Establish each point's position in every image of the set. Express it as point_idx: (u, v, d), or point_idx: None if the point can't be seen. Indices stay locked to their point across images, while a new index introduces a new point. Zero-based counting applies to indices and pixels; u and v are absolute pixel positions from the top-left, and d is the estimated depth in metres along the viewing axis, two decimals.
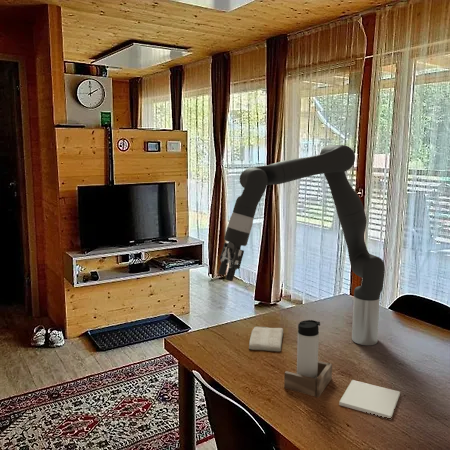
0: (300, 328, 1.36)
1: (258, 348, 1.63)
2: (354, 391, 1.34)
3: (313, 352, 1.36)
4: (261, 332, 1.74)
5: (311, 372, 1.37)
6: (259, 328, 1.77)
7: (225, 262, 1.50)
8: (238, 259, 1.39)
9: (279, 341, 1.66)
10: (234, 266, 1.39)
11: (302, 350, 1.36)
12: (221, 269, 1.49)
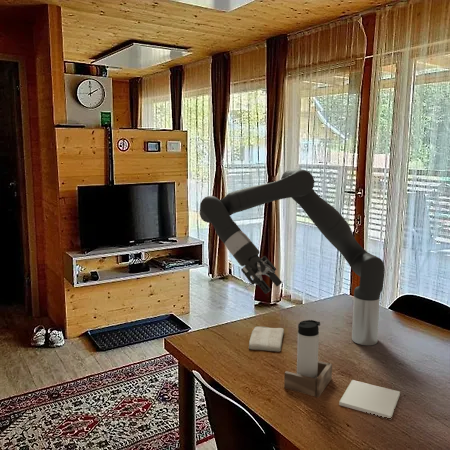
0: (300, 328, 1.36)
1: (258, 348, 1.63)
2: (354, 391, 1.34)
3: (313, 352, 1.36)
4: (262, 332, 1.74)
5: (311, 372, 1.37)
6: (260, 328, 1.77)
7: (271, 274, 1.46)
8: (249, 274, 1.37)
9: (279, 341, 1.65)
10: (252, 282, 1.37)
11: (302, 350, 1.36)
12: (274, 281, 1.45)
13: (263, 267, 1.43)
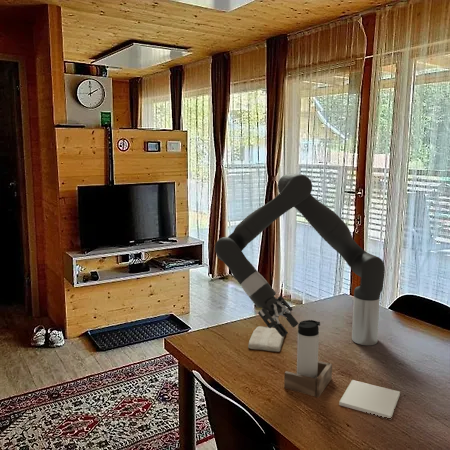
0: (300, 328, 1.36)
1: (257, 348, 1.63)
2: (354, 391, 1.34)
3: (313, 352, 1.36)
4: (263, 331, 1.74)
5: (311, 372, 1.37)
6: (261, 328, 1.77)
7: (287, 315, 1.45)
8: (266, 318, 1.36)
9: (279, 341, 1.65)
10: (270, 326, 1.36)
11: (302, 350, 1.36)
12: (291, 322, 1.45)
13: (279, 308, 1.43)
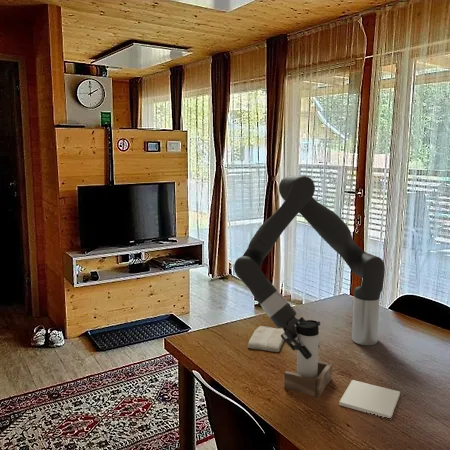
0: (300, 328, 1.36)
1: (257, 347, 1.64)
2: (354, 391, 1.34)
3: (313, 352, 1.36)
4: (264, 331, 1.74)
5: (311, 372, 1.37)
6: (263, 328, 1.77)
7: None
8: (290, 341, 1.34)
9: (279, 342, 1.65)
10: (294, 348, 1.34)
11: None
12: None
13: None
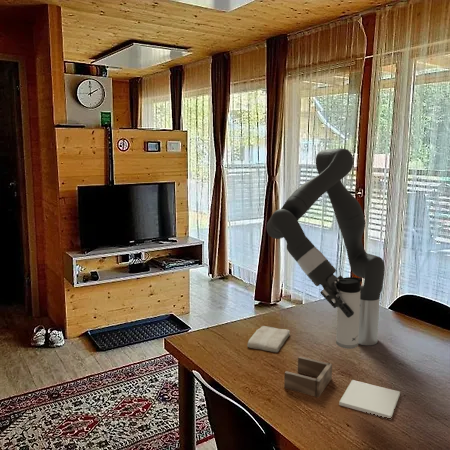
0: (341, 284, 1.27)
1: (256, 347, 1.64)
2: (354, 391, 1.34)
3: (354, 310, 1.27)
4: (266, 331, 1.74)
5: (353, 331, 1.28)
6: (265, 328, 1.77)
7: None
8: (330, 298, 1.25)
9: (279, 342, 1.65)
10: (335, 305, 1.26)
11: None
12: None
13: None
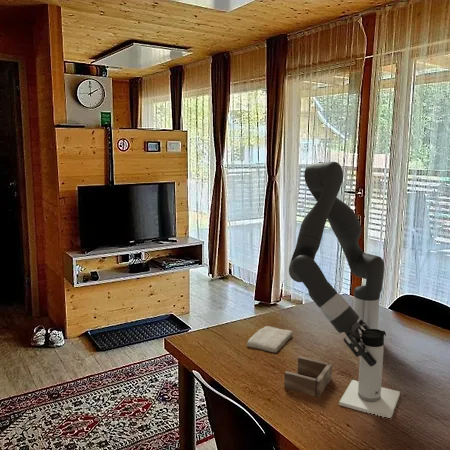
0: (364, 338, 1.26)
1: (255, 346, 1.64)
2: (354, 391, 1.34)
3: (378, 364, 1.26)
4: (268, 331, 1.74)
5: (376, 385, 1.27)
6: (268, 328, 1.77)
7: None
8: (353, 346, 1.24)
9: (278, 343, 1.64)
10: (357, 354, 1.24)
11: (366, 362, 1.27)
12: None
13: None
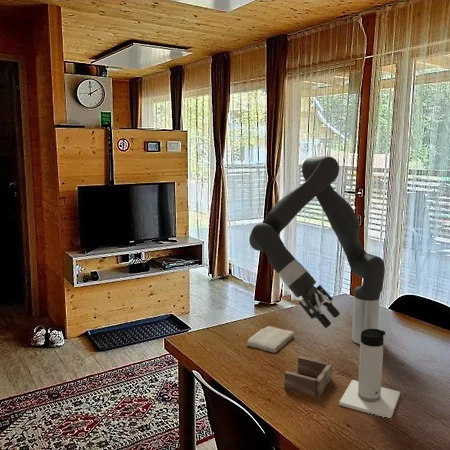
0: (364, 338, 1.26)
1: (255, 346, 1.65)
2: (354, 391, 1.34)
3: (378, 363, 1.26)
4: (269, 331, 1.74)
5: (376, 384, 1.27)
6: (270, 328, 1.77)
7: (328, 304, 1.37)
8: (308, 308, 1.29)
9: (278, 343, 1.64)
10: (312, 316, 1.28)
11: (365, 362, 1.27)
12: (332, 313, 1.37)
13: (320, 298, 1.35)
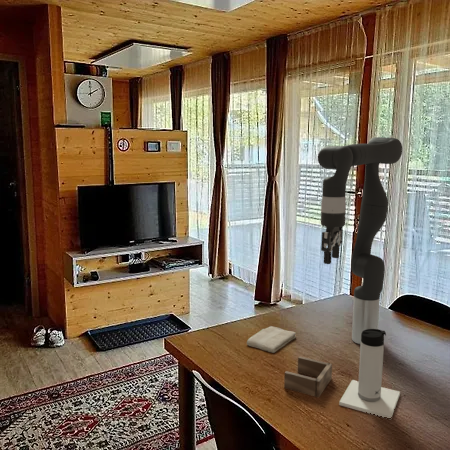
0: (364, 338, 1.26)
1: (254, 345, 1.65)
2: (354, 391, 1.34)
3: (378, 363, 1.26)
4: (271, 332, 1.74)
5: (376, 384, 1.27)
6: (272, 328, 1.77)
7: (336, 245, 1.48)
8: (325, 242, 1.38)
9: (277, 343, 1.64)
10: (323, 249, 1.38)
11: (366, 362, 1.27)
12: (333, 253, 1.48)
13: (336, 238, 1.44)
